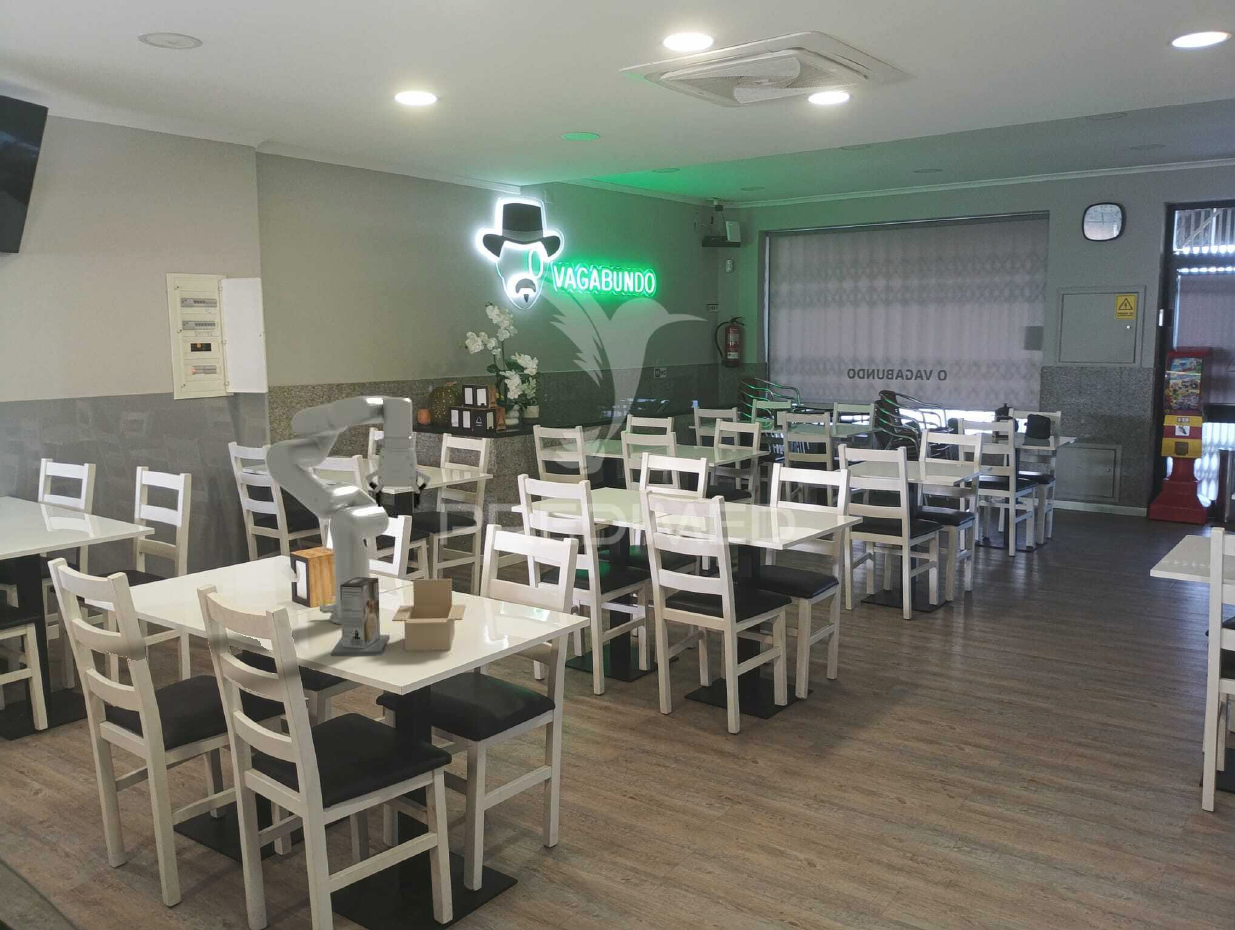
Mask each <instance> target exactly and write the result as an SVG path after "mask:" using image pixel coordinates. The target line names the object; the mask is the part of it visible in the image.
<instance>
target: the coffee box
mask: <svg viewBox="0 0 1235 930" xmlns="http://www.w3.org/2000/svg"><path fill="white" fill-rule="evenodd" d="M379 583H380V581H379V577H370V578H366V577H356V578H354V579H352V580H349V581H347V582H345V583H343V584H341V585H340V590H341V623H342V624H341V637H342V647H349V648H366V647H368V646H369V645H371V644H372V643H374V642H375V641H376V640H378V639H379V638H380V635H381V630H380V629H381V628H380V627H381V626H380V625H381V623H380V622H381V621H380V589H379V588H380V586H379Z"/></svg>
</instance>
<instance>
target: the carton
mask: <svg viewBox="0 0 1235 930" xmlns="http://www.w3.org/2000/svg"><path fill="white" fill-rule="evenodd" d="M412 585H413V587H412V588H413V589H412V590H413V591H412V592H413V604H409V605H399V606H398V609H397V610H396V613H395V614H394V615H393V617H392V622H404V651H405V652H413V651H414V652H415V651H416V652H418V651H451V648H452V645H453V642H454V638H455V634H456V633H455V632H456V630H455V629H456V627H455V625H456V623H455V622H456V621H462V620H463V618H464V613H465V611H466V607H467V604H453V578H426V579H425V578H419V579H417V578H416V579H414V578H413V584H412Z"/></svg>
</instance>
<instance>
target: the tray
mask: <svg viewBox="0 0 1235 930" xmlns="http://www.w3.org/2000/svg"><path fill="white" fill-rule="evenodd" d="M390 635H391V634H380V638H379V639H378V640H376V641H375V642H374V643H372V644H371V645H369V646H368V647H366V648H349V647H342V636H341V638H340V639H339V640H338V642H337V643H336V645H335V646H334V647H333V649H332V650H331V657H339V656H341V657H342V656H343V657H344V656H347V657H348V656H381V655H382V654H383V653H384V651H385V648H386V647H387V645H388V643H389V641H390V637H391V636H390Z"/></svg>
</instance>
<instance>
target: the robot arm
mask: <svg viewBox="0 0 1235 930" xmlns="http://www.w3.org/2000/svg"><path fill="white" fill-rule="evenodd" d="M290 424H291V428H292V430H293V432H294V433H295V435H297V436H298V437H300V438H297V439H287V440H285V439H284V440H281V441H277V442H276V443H273V444H272V445H271V446H270V447H269V448H268V450H267V452H266V455H265V461H266V468H267V470H268V472H269V475H270V477H271V478H272V480H273V481H274V482H275V483H276V484H277V485H278V486H279V487H281V488H282V489H283V490H285V491H286V492H288V494H290V495H291V496H293V497H294V498H295V499H296V500H297V501H298V502H299V503H301V504H302V505H303V506H304V507H306V509H308V510H309V511H310V512H311V513H313V514H314V515H315V516H316V517H317V518H319V519H321V520H329V524H328V526H329V532H330V538H331V540H332V541H331V542H332V548H333V566H334V568H333V569H334V570H333V572H334V600H335V601H334V603H331V604H328V605H327V604H320V605H319V612H320V613H321V612H322V614H327V613H328V614H331V615H329V621H330V622H331V623H333V624H338V625H342V623H341V590H340V585H341V584H343V583H345V582H347V581H349V580H352V579H354V578H356V577H366V578H371V570H370V568H371V567H370V566H371V565H370V564H371V563H370V554H369V553H370V552H369V551H368V548H367V547H366V545H365V542H364V540H366V539H371V538H372V539H373V538H375V537H378V536H379V537H380V536H381V535H383V534H384V533H386V531H387V530H388V528H389V526H390V518H389V516H388V513H387V510H386V509H385V508H384V507H383V506H384V491H383V488H384V487H395V488H396V487H398V488H399V487H401V488H410V487H411V488H412V490H413V491H414V493H413V509H418V508H419V507H420V506H421V504H422V503H421V502H422V501H421V499H422V495H421V494H422V492H423V491H424V490H425V489H426V488H427V487H428V485H429V483H430V481H431V479H432V477H431V476H430V475H428V474H426V473H424V472H422V471H421V470H419V468H418V460H417V454H416V449H415V448H413V401H412V399H410V398H408V397H395V396H394V397H392V396H389V395H361V396H360V395H359V396H351V397H347V398H344V399H339V400H335V401H333V402H330V403H326V404H321V405H316V406H312V407H307V408H304V409H301V410H299V411H297V412H296V413H294V415H293V417H292V419H291V423H290ZM373 424H375V425H378V424H383V429H382V430H383V432H382V433H383V437H382V438H379V439H377V444H378V445H382V447H383V448H380V450H379V455H378V464H377V470H375V471H373V472H370V473H369V474H367V475H365V480H366V481H367V483H368V486H369V487H370V488H371V489H372V490H373V491H374V493H375V499H374V498H372V497H371V496H370V495H369V494H367V493H366V492H365V491H364V490H363V489H362V488H360V487H359V486H357V485H355V484H352V483H339V484H329V483H326V482H325V481H324V480H322V479H321V478H320V477H319V476H318V475H316V474H315V473H313V472H311V471H309V470H307V469H305V468H312V467H317V466H319V465H321V464H323V462H324V461H325V460H326V459H327V457H328V455H329V454H330V452H331V450H332V448H333V446H334V445H335V443H336V441H337V439H338V437H339V435H340V433H341V434H342V433H343V432H345V431H346V430H347V429H348V428H349V427H353V426H362V425H373ZM375 477H376V478H377V479H376V480H377V483H376V482H375V481H374V478H375ZM419 478H421V479H422V480H423V482H422V484H421V485H419V484H418V482H419Z"/></svg>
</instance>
